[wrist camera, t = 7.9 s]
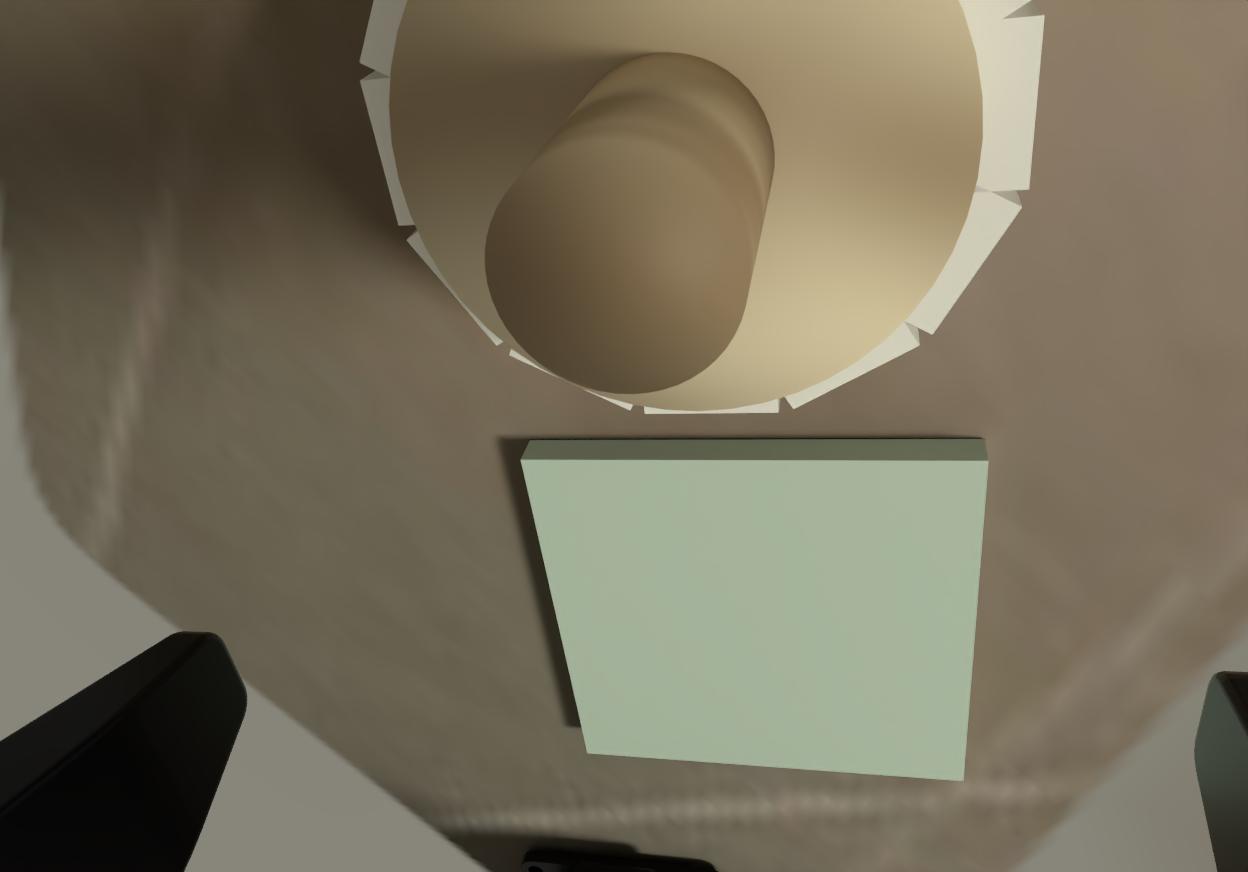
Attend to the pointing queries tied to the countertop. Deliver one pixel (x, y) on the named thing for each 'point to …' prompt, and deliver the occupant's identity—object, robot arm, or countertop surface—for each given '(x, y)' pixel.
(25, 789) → the robot arm
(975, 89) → the lid
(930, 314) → the white faceted ring
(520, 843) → the countertop surface
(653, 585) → the mat
